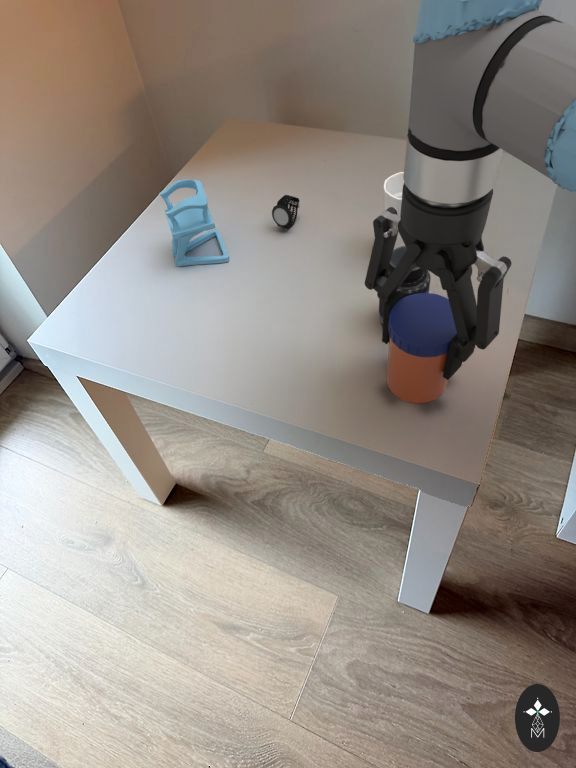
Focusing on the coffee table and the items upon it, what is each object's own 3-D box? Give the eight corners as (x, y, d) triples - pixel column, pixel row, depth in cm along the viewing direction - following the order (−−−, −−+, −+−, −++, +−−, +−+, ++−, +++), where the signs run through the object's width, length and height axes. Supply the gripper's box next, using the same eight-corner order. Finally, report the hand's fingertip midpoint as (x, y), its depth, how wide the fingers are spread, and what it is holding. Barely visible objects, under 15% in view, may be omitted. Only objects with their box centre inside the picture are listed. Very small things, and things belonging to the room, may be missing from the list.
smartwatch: (270, 226, 89) (266, 200, 85) (295, 212, 90) (292, 186, 86) (285, 238, 87) (282, 211, 83) (310, 224, 88) (308, 197, 84)
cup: (424, 235, 84) (432, 171, 75) (424, 264, 80) (433, 200, 71) (381, 234, 85) (384, 171, 76) (379, 262, 81) (382, 199, 72)
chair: (170, 246, 88) (148, 181, 79) (218, 232, 89) (202, 166, 79) (178, 276, 84) (156, 211, 74) (230, 261, 85) (214, 195, 75)
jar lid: (475, 325, 60) (479, 313, 59) (434, 369, 57) (436, 358, 56) (415, 294, 64) (417, 282, 62) (373, 334, 61) (374, 323, 59)
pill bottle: (431, 313, 74) (442, 250, 65) (412, 343, 71) (421, 281, 62) (390, 298, 76) (395, 236, 68) (371, 327, 74) (373, 265, 65)
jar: (459, 375, 68) (475, 317, 59) (424, 414, 65) (435, 359, 56) (409, 346, 71) (417, 287, 63) (373, 382, 68) (376, 325, 60)
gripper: (589, 204, 42) (517, 377, 60) (377, 127, 52) (370, 297, 70) (541, 255, 39) (481, 421, 58) (326, 164, 49) (333, 331, 67)
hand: (420, 353), depth 64 cm, fingers closed on jar lid, 8 cm apart
